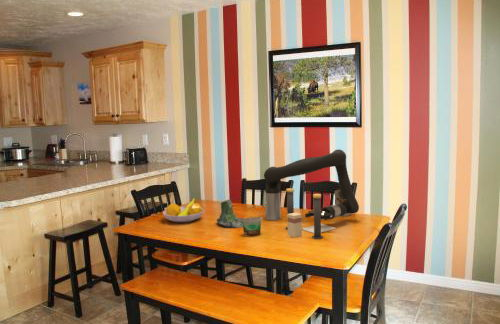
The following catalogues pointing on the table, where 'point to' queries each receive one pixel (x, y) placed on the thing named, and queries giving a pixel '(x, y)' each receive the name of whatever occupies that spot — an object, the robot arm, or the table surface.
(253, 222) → the food container
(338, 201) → the coffee box
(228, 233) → the table surface
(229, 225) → the tree stump
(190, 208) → the fruit bowl
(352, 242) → the table surface
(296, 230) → the carton
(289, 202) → the gate
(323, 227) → the mat
